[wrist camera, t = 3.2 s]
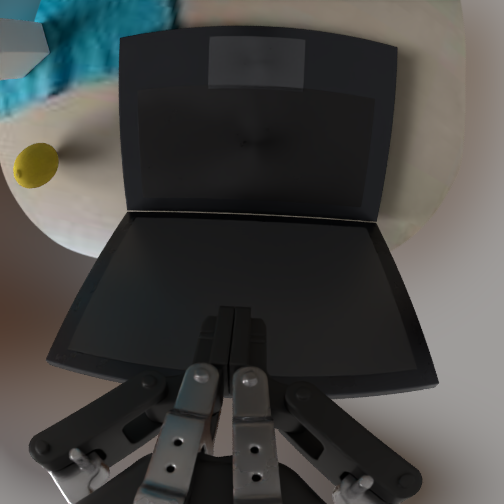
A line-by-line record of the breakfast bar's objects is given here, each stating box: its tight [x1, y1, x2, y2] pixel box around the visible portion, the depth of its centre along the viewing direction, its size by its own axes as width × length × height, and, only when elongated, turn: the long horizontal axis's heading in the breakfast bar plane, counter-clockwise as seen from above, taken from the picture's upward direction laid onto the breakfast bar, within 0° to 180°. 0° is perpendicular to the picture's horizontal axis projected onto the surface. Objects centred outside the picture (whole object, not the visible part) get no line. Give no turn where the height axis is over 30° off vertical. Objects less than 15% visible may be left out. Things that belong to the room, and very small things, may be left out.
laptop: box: [119, 26, 398, 222], centre depth 29 cm, size 21×30×2 cm
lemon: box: [13, 143, 59, 188], centre depth 29 cm, size 6×6×8 cm
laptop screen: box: [46, 212, 439, 399], centre depth 26 cm, size 21×30×1 cm
